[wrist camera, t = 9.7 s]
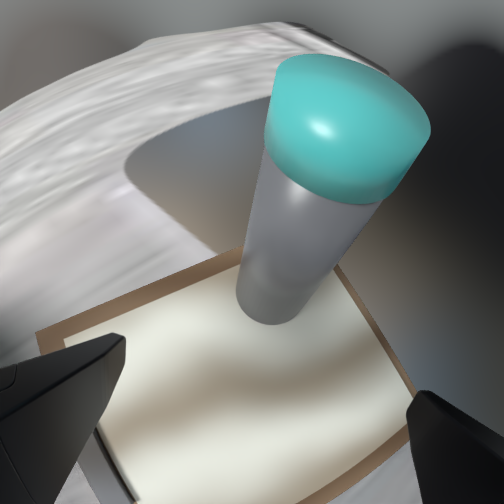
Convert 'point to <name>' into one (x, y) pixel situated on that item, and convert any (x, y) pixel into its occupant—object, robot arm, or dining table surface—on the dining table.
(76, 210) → the dining table surface
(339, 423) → the clipboard
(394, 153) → the marker
